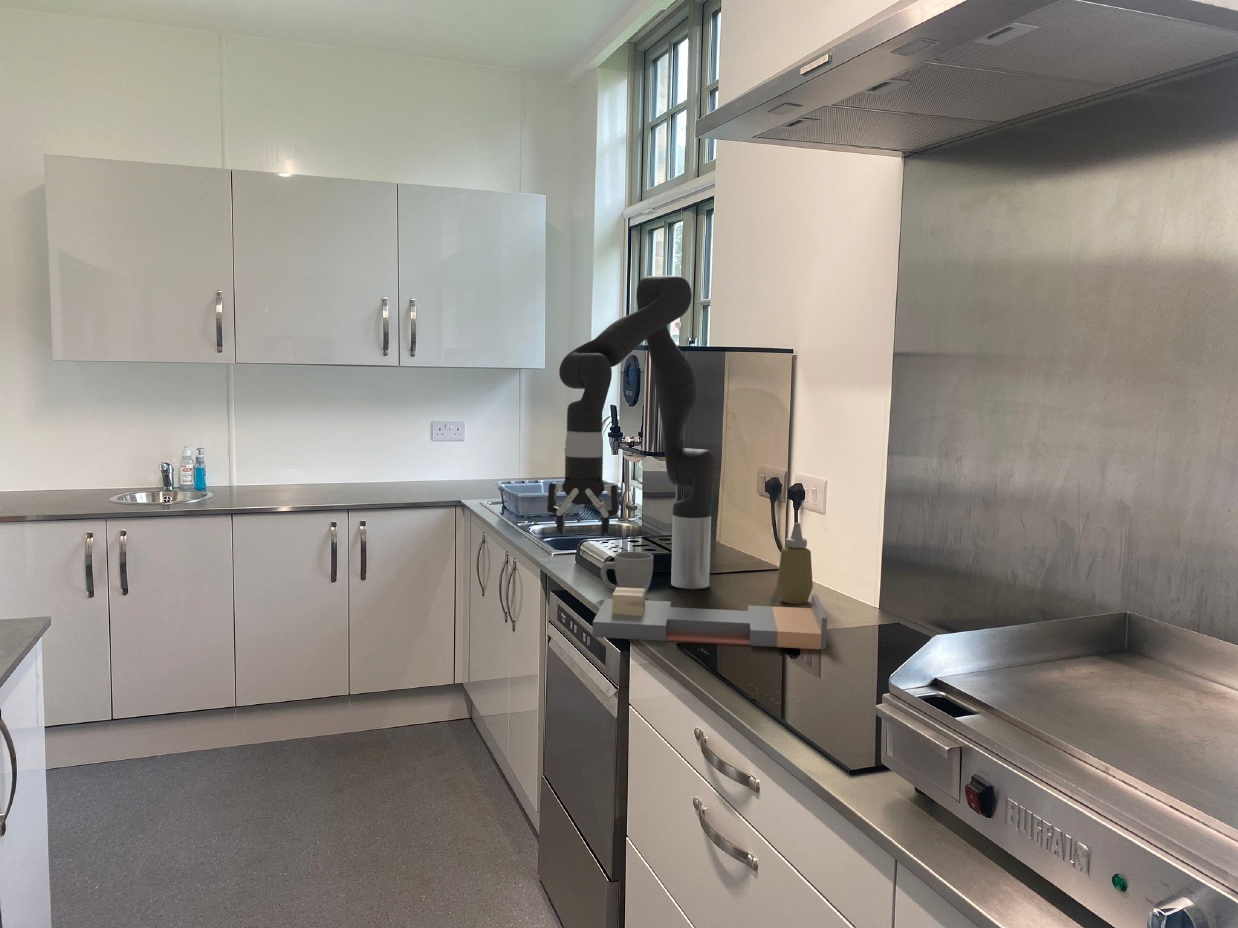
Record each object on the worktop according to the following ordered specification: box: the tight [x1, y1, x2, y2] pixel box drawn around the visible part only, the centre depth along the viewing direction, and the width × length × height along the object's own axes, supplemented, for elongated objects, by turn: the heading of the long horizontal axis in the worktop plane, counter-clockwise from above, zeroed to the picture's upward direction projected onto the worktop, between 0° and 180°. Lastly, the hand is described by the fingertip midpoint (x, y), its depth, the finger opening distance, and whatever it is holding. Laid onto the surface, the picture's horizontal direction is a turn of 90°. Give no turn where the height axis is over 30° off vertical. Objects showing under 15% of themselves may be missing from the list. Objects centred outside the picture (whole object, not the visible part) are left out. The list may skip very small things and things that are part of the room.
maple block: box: [611, 587, 646, 616], centre depth 173 cm, size 6×6×4 cm
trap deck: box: [592, 593, 828, 650], centre depth 171 cm, size 18×44×6 cm, turn 83°
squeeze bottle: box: [776, 522, 814, 605], centre depth 194 cm, size 8×8×18 cm
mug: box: [600, 551, 654, 595], centre depth 196 cm, size 12×9×10 cm
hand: (582, 534), depth 172 cm, fingers open, 8 cm apart
